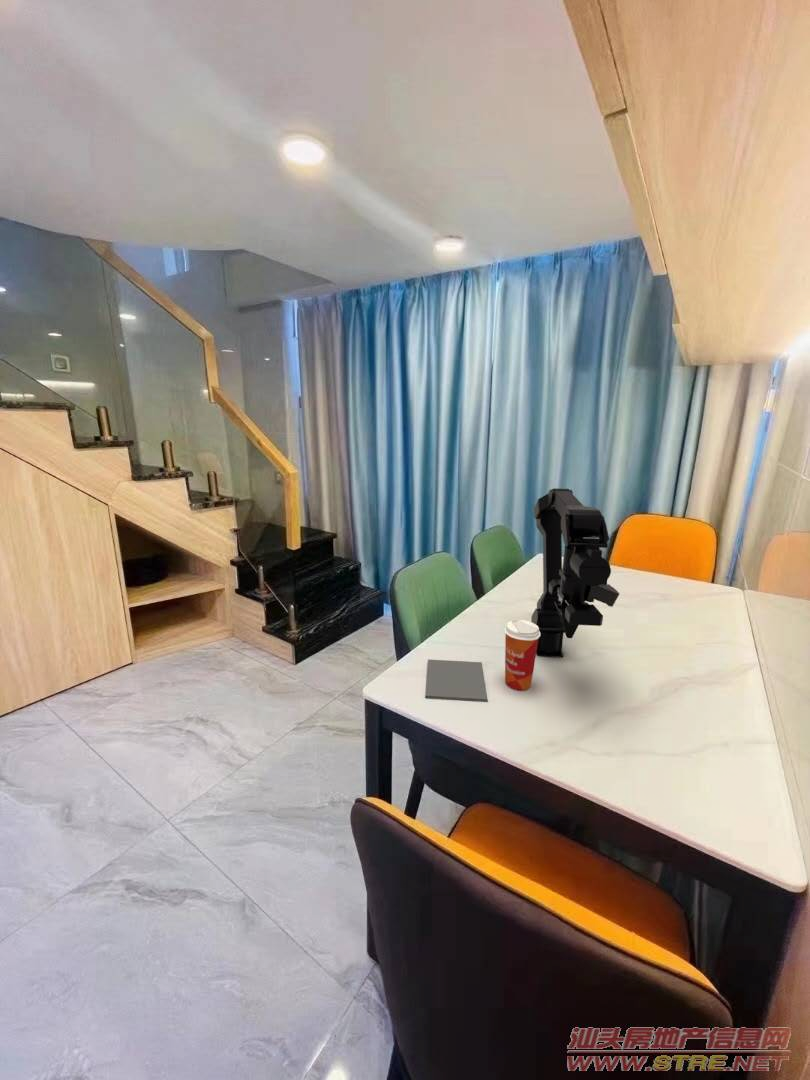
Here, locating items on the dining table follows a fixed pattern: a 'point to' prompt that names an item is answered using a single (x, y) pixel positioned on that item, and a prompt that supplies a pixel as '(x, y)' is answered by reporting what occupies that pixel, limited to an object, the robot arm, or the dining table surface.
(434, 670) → the mat
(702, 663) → the dining table surface
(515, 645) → the paper cup
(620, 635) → the dining table surface
